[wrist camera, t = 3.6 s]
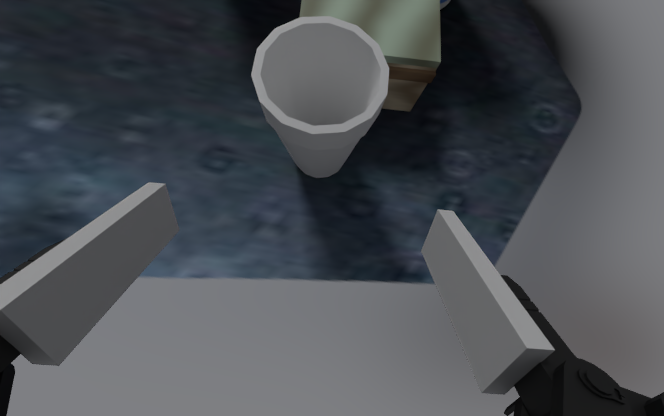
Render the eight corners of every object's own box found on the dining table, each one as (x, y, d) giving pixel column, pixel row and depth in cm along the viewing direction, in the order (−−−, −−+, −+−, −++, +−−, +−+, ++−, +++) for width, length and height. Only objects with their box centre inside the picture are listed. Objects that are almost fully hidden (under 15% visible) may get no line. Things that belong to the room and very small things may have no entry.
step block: (300, 102, 30) (294, 48, 23) (311, 11, 34) (309, -65, 26) (410, 114, 31) (442, 65, 23) (411, 23, 34) (439, -47, 26)
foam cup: (353, 195, 28) (383, 144, 16) (274, 185, 28) (239, 123, 15) (361, 123, 30) (392, 25, 18) (287, 113, 30) (266, 6, 17)
